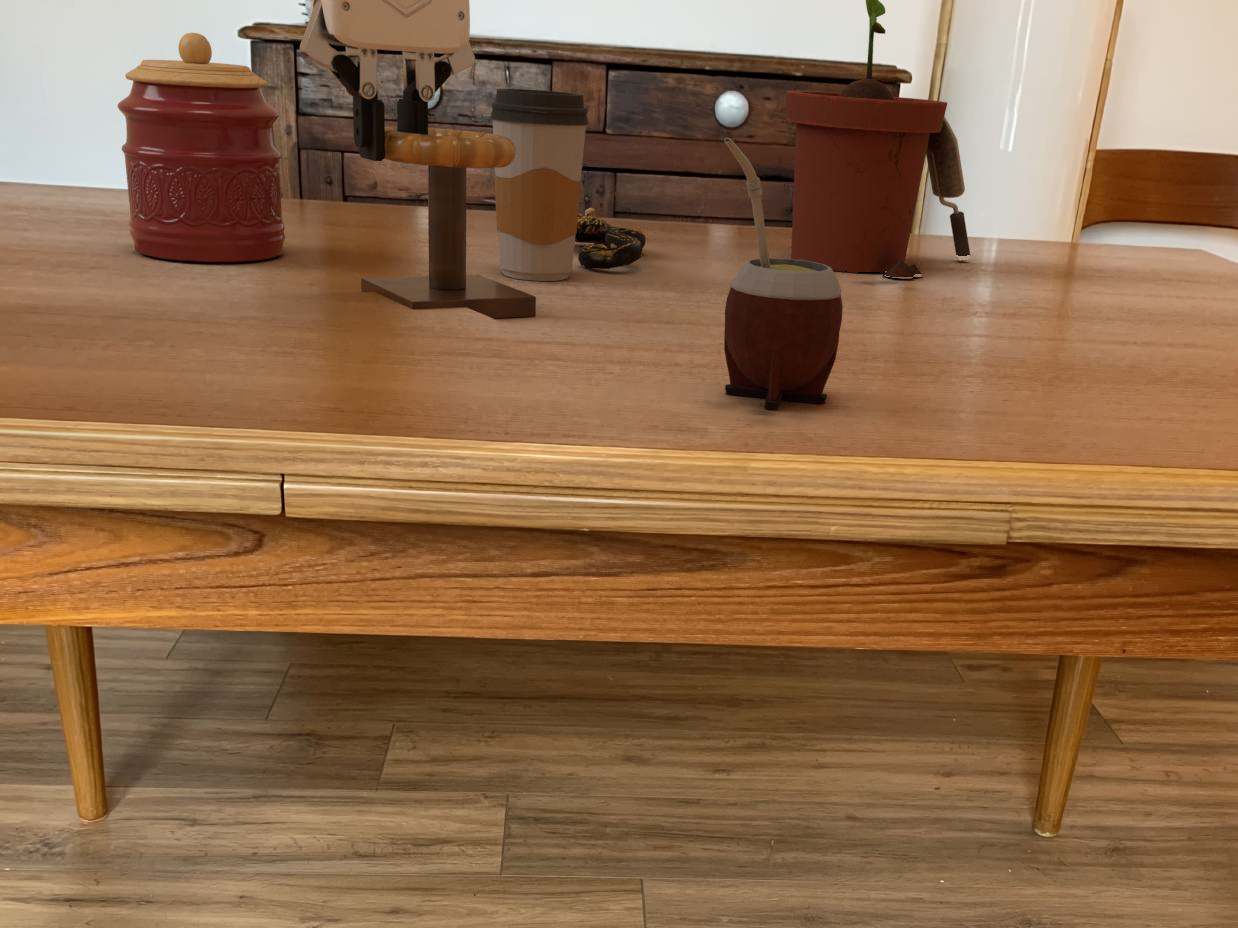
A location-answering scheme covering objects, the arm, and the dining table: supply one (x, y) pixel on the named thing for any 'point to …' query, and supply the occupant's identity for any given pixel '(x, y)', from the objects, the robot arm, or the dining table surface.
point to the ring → (449, 148)
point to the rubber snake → (606, 243)
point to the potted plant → (868, 172)
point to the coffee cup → (539, 181)
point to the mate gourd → (779, 320)
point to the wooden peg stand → (451, 261)
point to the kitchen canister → (201, 160)
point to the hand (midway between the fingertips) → (391, 157)
